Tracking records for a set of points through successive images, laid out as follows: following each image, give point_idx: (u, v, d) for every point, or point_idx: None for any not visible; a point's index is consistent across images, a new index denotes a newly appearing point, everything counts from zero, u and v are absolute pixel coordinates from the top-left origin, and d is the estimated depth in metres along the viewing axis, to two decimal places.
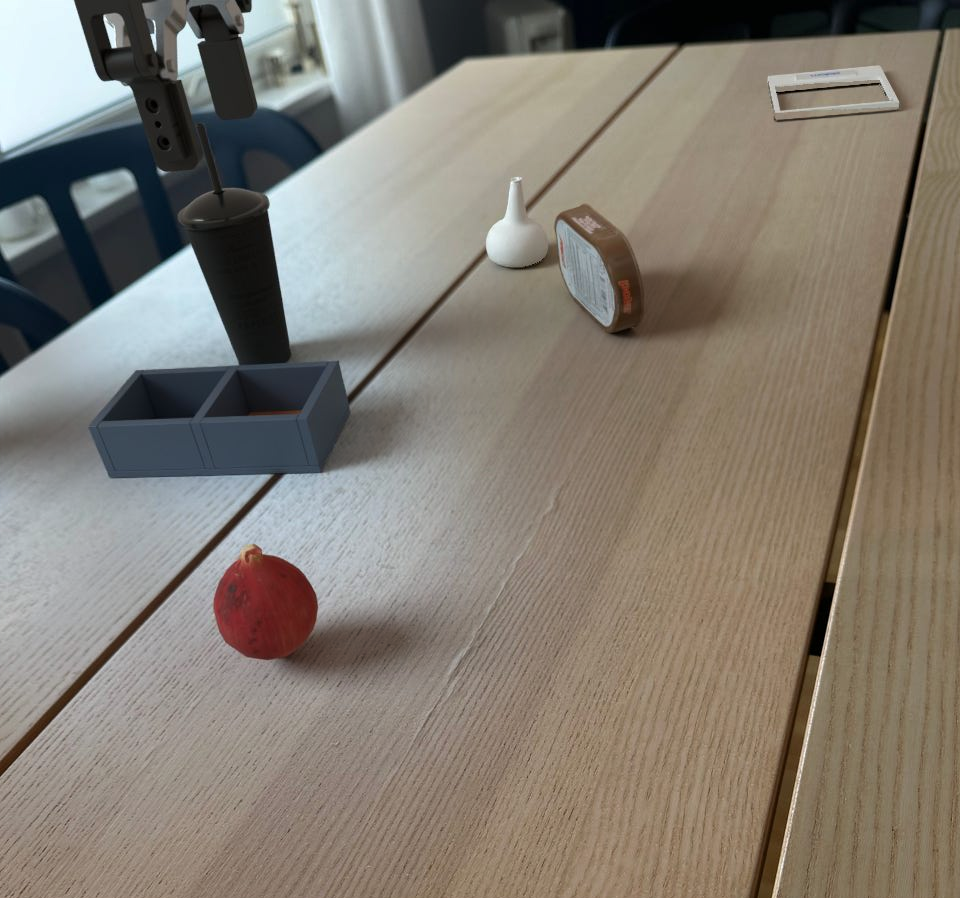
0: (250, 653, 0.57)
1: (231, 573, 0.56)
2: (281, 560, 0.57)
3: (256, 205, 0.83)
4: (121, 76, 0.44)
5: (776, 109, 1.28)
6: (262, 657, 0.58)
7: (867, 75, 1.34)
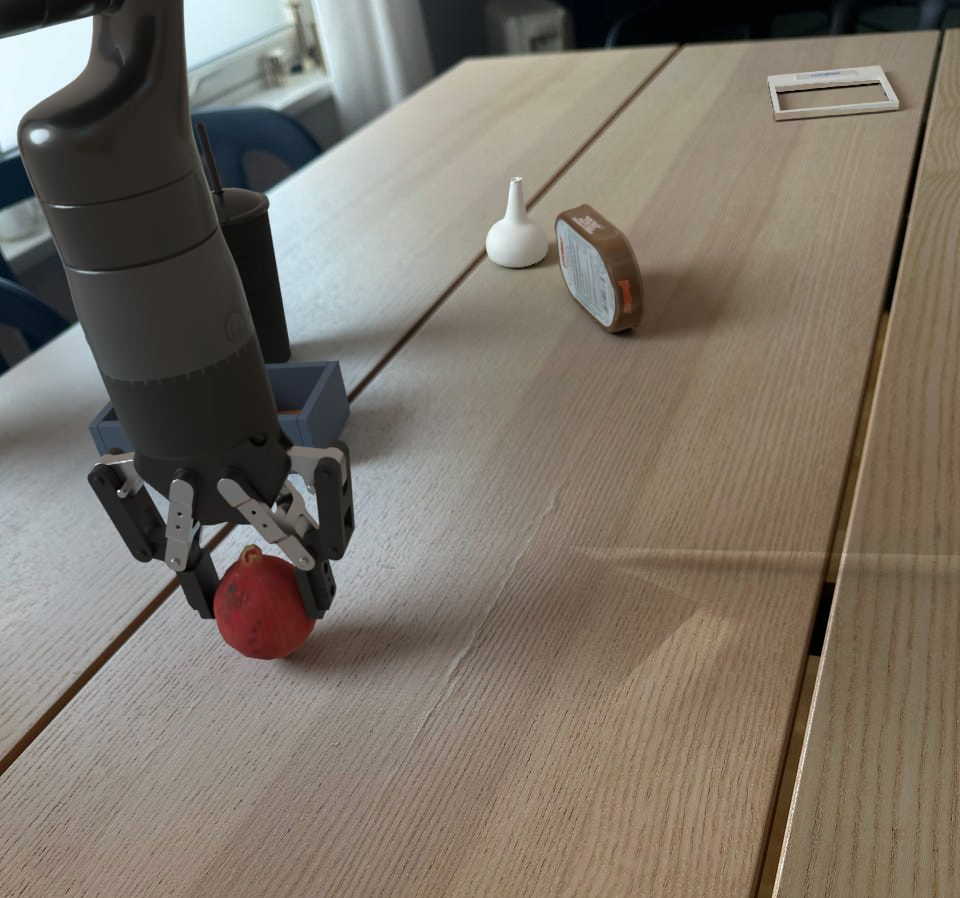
0: (250, 653, 0.57)
1: (231, 574, 0.56)
2: (281, 560, 0.57)
3: (256, 205, 0.83)
4: None
5: (776, 109, 1.28)
6: (262, 657, 0.58)
7: (867, 75, 1.34)
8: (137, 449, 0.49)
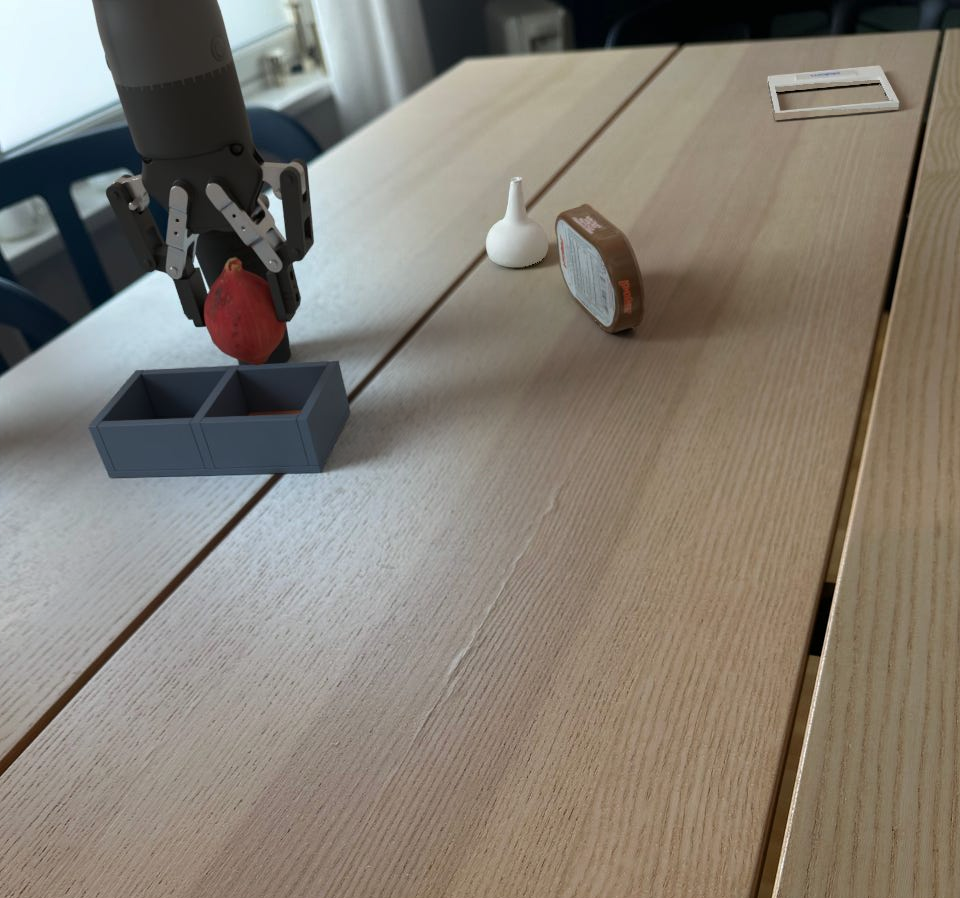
0: (233, 348, 0.73)
1: (217, 281, 0.72)
2: None
3: None
4: None
5: (776, 109, 1.28)
6: (242, 353, 0.73)
7: (867, 75, 1.34)
8: (145, 152, 0.64)
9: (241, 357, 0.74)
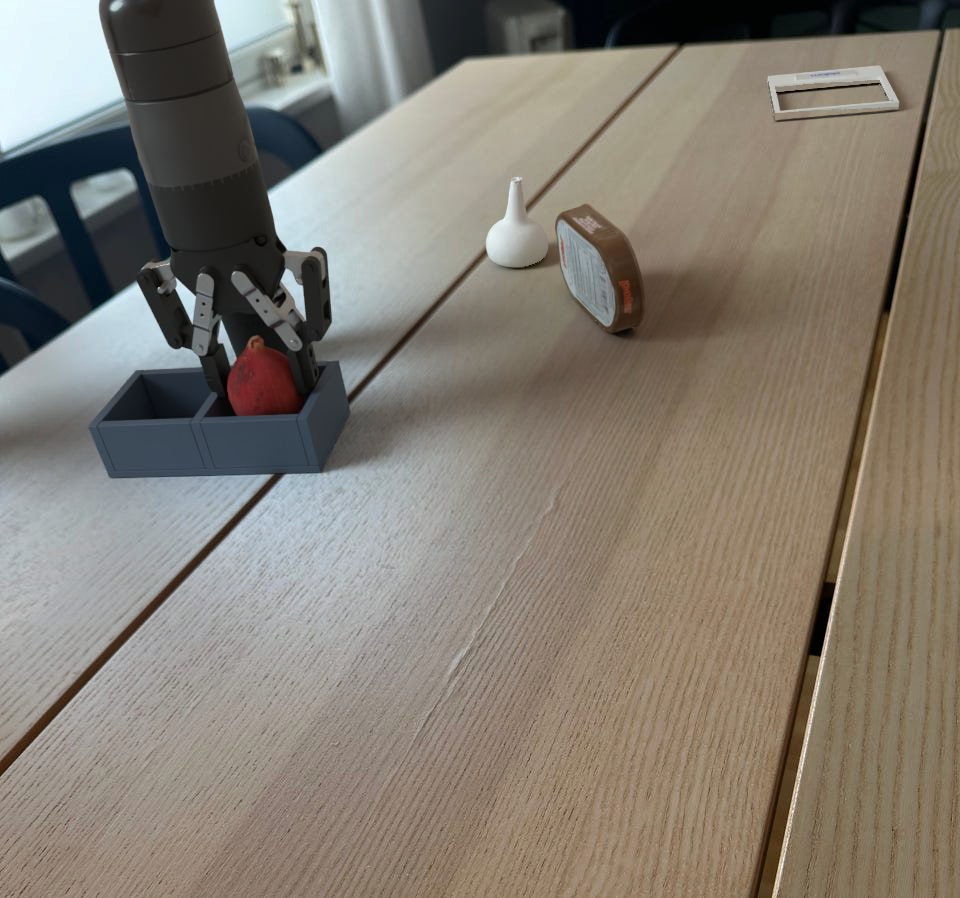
0: None
1: (240, 358, 0.76)
2: (278, 351, 0.77)
3: None
4: None
5: (776, 109, 1.28)
6: None
7: (867, 75, 1.34)
8: (174, 245, 0.68)
9: None
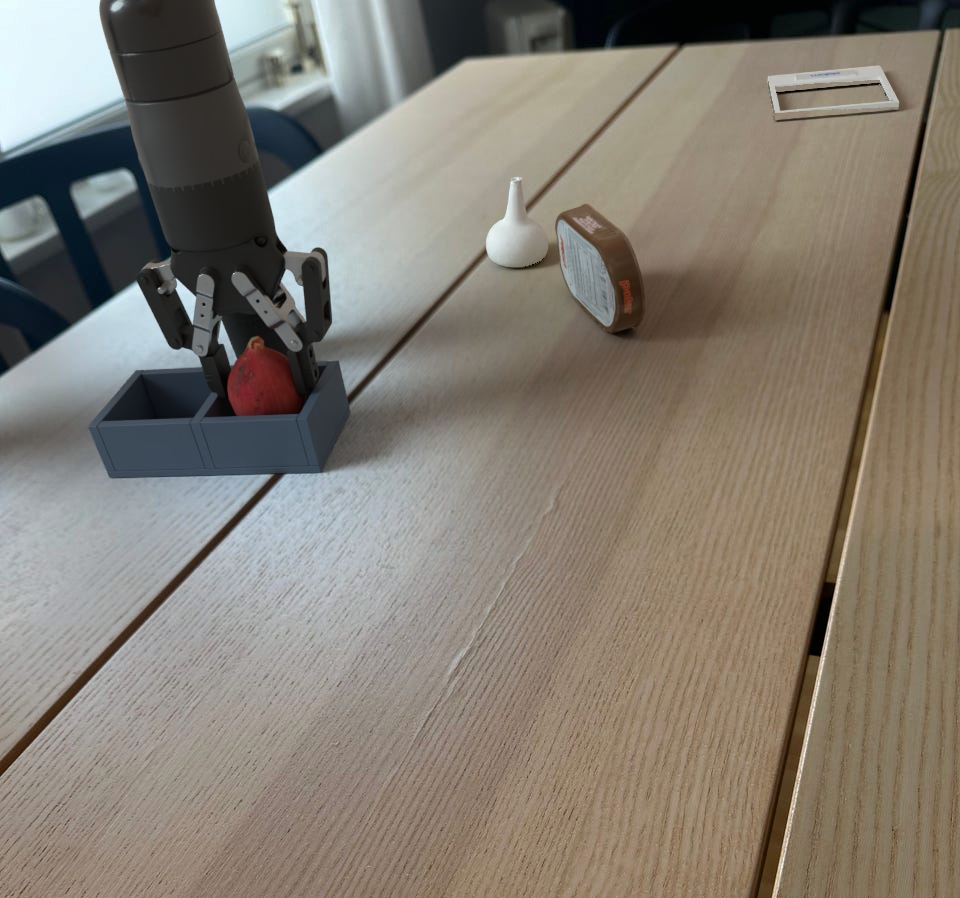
0: None
1: (241, 358, 0.76)
2: (278, 352, 0.77)
3: None
4: None
5: (776, 109, 1.28)
6: None
7: (867, 75, 1.34)
8: (174, 245, 0.68)
9: None
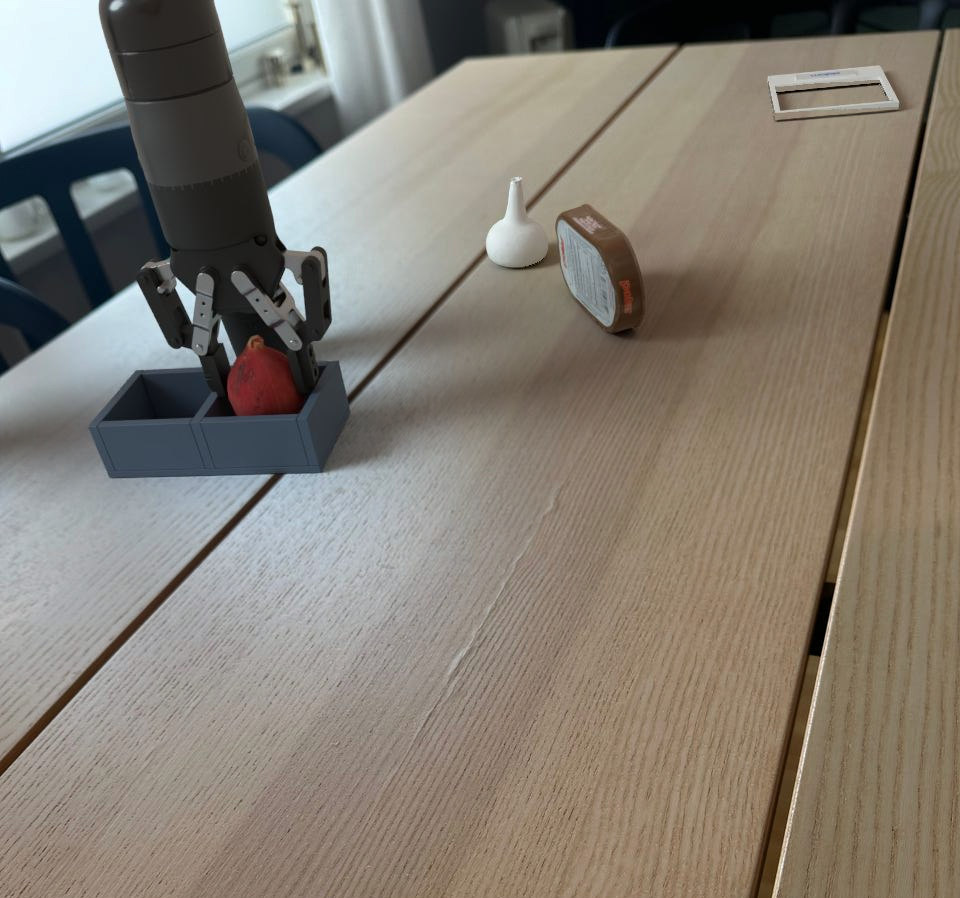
0: None
1: (240, 357, 0.76)
2: (278, 351, 0.77)
3: None
4: None
5: (776, 109, 1.28)
6: None
7: (867, 75, 1.34)
8: (174, 244, 0.68)
9: None
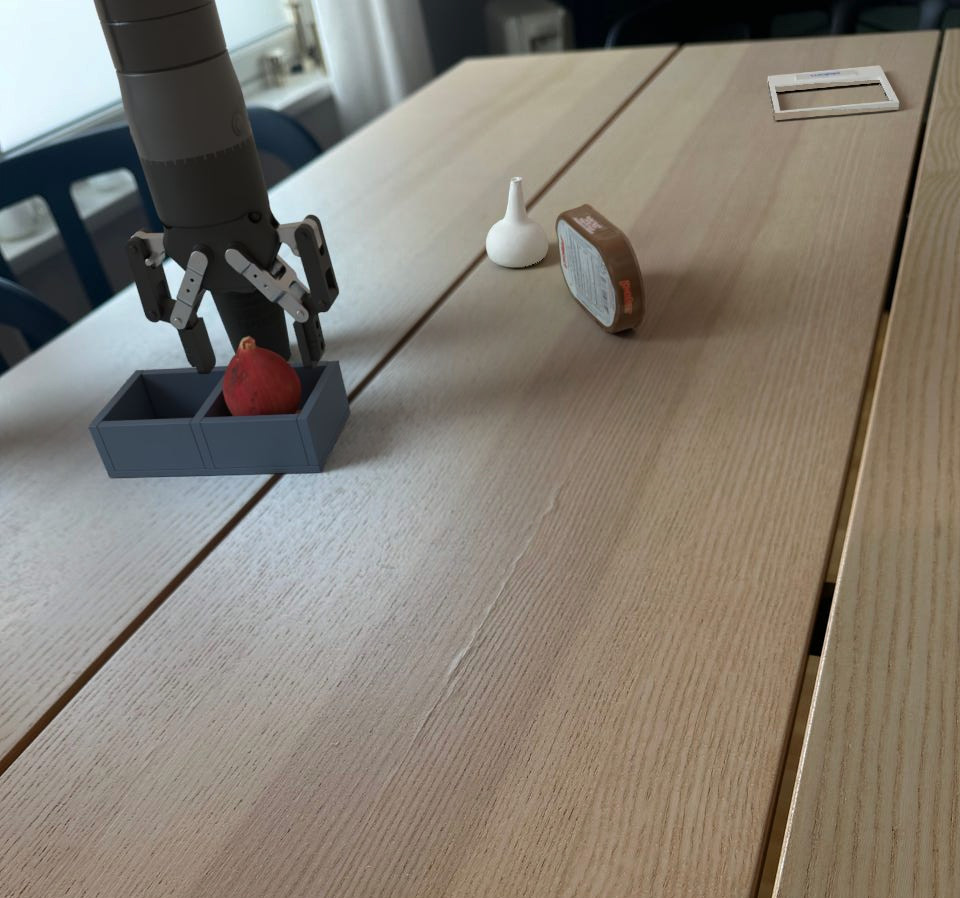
0: None
1: (233, 360, 0.76)
2: (270, 351, 0.77)
3: None
4: None
5: (776, 109, 1.28)
6: None
7: (867, 75, 1.34)
8: (167, 221, 0.67)
9: None
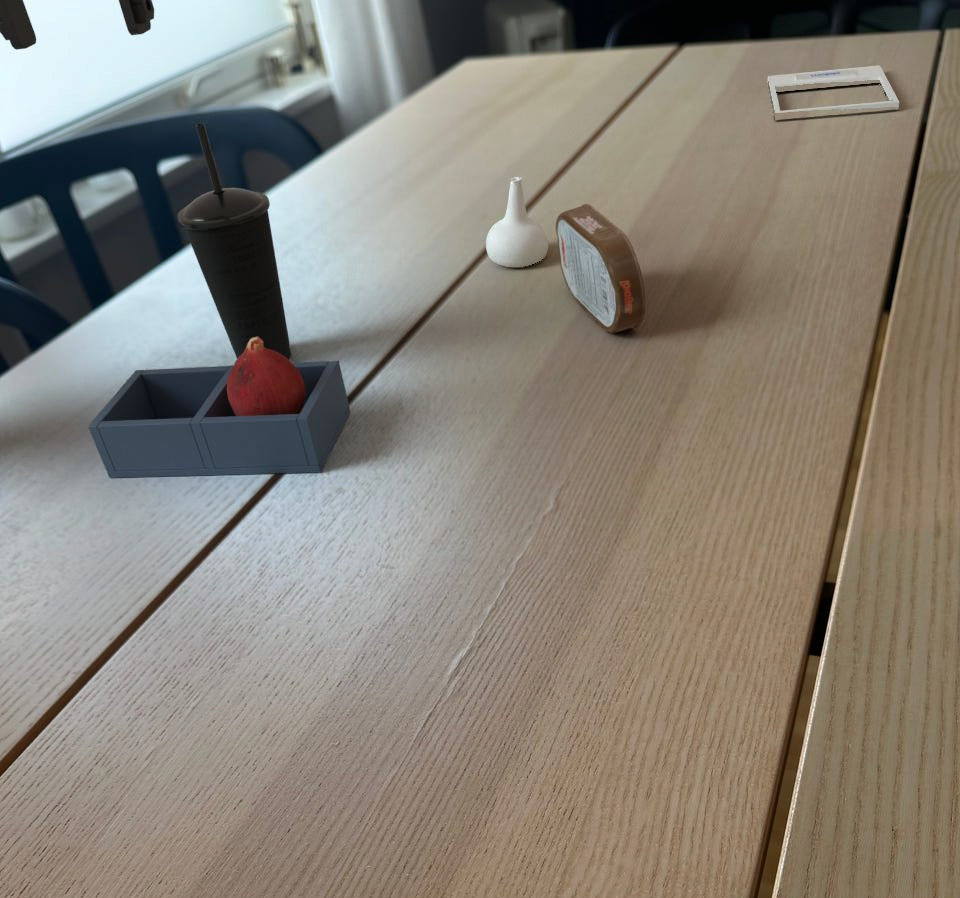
0: None
1: (240, 359, 0.76)
2: None
3: (256, 205, 0.83)
4: None
5: (776, 109, 1.28)
6: None
7: (867, 75, 1.34)
8: None
9: None
